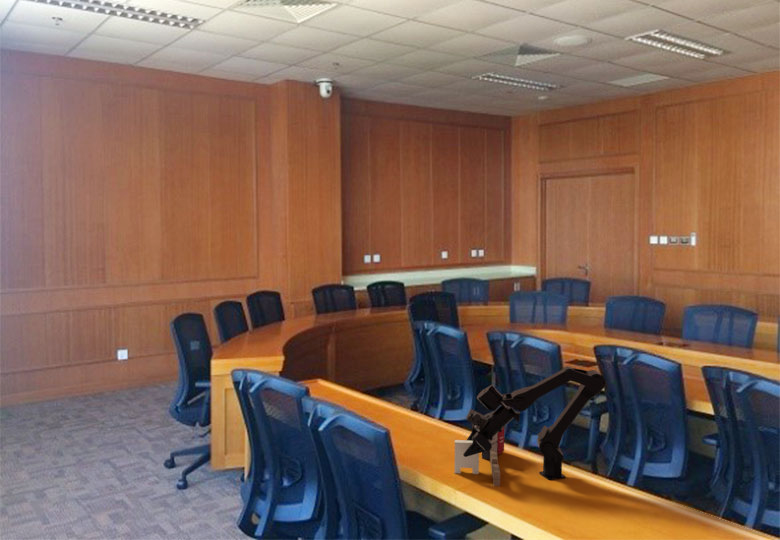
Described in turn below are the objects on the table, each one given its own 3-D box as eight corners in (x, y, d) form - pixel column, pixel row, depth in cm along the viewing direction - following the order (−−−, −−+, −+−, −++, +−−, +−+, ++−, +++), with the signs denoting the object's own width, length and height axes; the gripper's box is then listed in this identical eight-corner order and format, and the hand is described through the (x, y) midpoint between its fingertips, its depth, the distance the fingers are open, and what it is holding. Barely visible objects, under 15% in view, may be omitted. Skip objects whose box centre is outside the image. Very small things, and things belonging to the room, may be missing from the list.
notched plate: (478, 471, 224) (478, 440, 223) (478, 474, 221) (479, 443, 220) (454, 470, 224) (454, 439, 224) (454, 473, 222) (454, 442, 221)
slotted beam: (490, 461, 233) (490, 450, 232) (496, 462, 233) (496, 450, 232) (493, 485, 211) (493, 473, 211) (500, 486, 211) (500, 473, 210)
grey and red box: (490, 460, 234) (491, 418, 233) (480, 458, 237) (480, 416, 236) (505, 452, 243) (505, 411, 242) (494, 449, 245) (495, 410, 245)
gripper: (480, 395, 230) (447, 425, 232) (481, 410, 212) (446, 442, 213) (502, 418, 230) (469, 448, 232) (506, 435, 211) (470, 467, 213)
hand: (464, 451), depth 222 cm, fingers open, 9 cm apart
